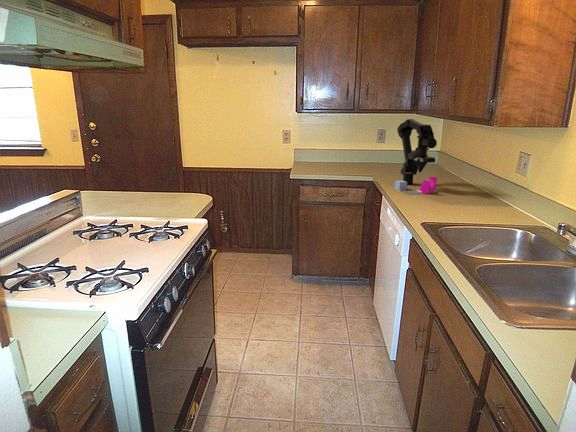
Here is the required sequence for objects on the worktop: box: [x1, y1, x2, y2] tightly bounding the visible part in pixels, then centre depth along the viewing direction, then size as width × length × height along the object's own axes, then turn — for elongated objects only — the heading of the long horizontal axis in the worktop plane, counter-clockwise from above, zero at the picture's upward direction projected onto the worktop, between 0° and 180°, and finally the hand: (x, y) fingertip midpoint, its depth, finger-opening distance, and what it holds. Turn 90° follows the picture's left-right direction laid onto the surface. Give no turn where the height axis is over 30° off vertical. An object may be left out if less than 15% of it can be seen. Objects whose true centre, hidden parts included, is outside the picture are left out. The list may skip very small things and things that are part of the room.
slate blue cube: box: [394, 179, 408, 191], centre depth 236 cm, size 5×5×5 cm
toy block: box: [419, 176, 438, 195], centre depth 231 cm, size 15×6×8 cm, turn 144°
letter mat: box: [400, 189, 443, 195], centre depth 231 cm, size 9×23×1 cm, turn 108°
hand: (419, 172), depth 237 cm, fingers closed
